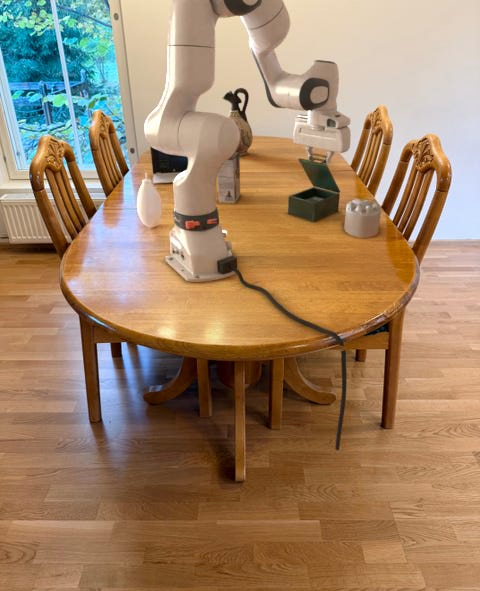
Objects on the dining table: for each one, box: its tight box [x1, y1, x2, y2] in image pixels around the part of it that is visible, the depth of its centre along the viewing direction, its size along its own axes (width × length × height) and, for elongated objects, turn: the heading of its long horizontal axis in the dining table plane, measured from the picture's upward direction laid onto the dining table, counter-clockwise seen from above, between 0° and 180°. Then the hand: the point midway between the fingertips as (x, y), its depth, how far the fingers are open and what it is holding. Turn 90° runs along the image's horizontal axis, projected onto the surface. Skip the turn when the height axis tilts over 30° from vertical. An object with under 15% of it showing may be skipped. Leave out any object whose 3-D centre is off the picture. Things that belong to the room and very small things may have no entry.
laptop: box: [149, 145, 188, 185], centre depth 199 cm, size 18×12×13 cm
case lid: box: [297, 152, 341, 194], centre depth 162 cm, size 14×11×5 cm
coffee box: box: [217, 152, 241, 204], centre depth 176 cm, size 9×6×16 cm
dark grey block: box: [306, 196, 323, 203], centre depth 165 cm, size 9×6×4 cm, turn 134°
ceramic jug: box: [221, 87, 254, 157], centre depth 229 cm, size 17×15×30 cm
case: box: [287, 186, 341, 223], centre depth 165 cm, size 14×11×6 cm
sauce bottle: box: [136, 171, 163, 229], centre depth 153 cm, size 8×8×18 cm
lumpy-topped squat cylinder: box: [343, 198, 382, 239], centre depth 151 cm, size 10×13×9 cm
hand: (319, 161), depth 159 cm, fingers closed on case lid, 5 cm apart
